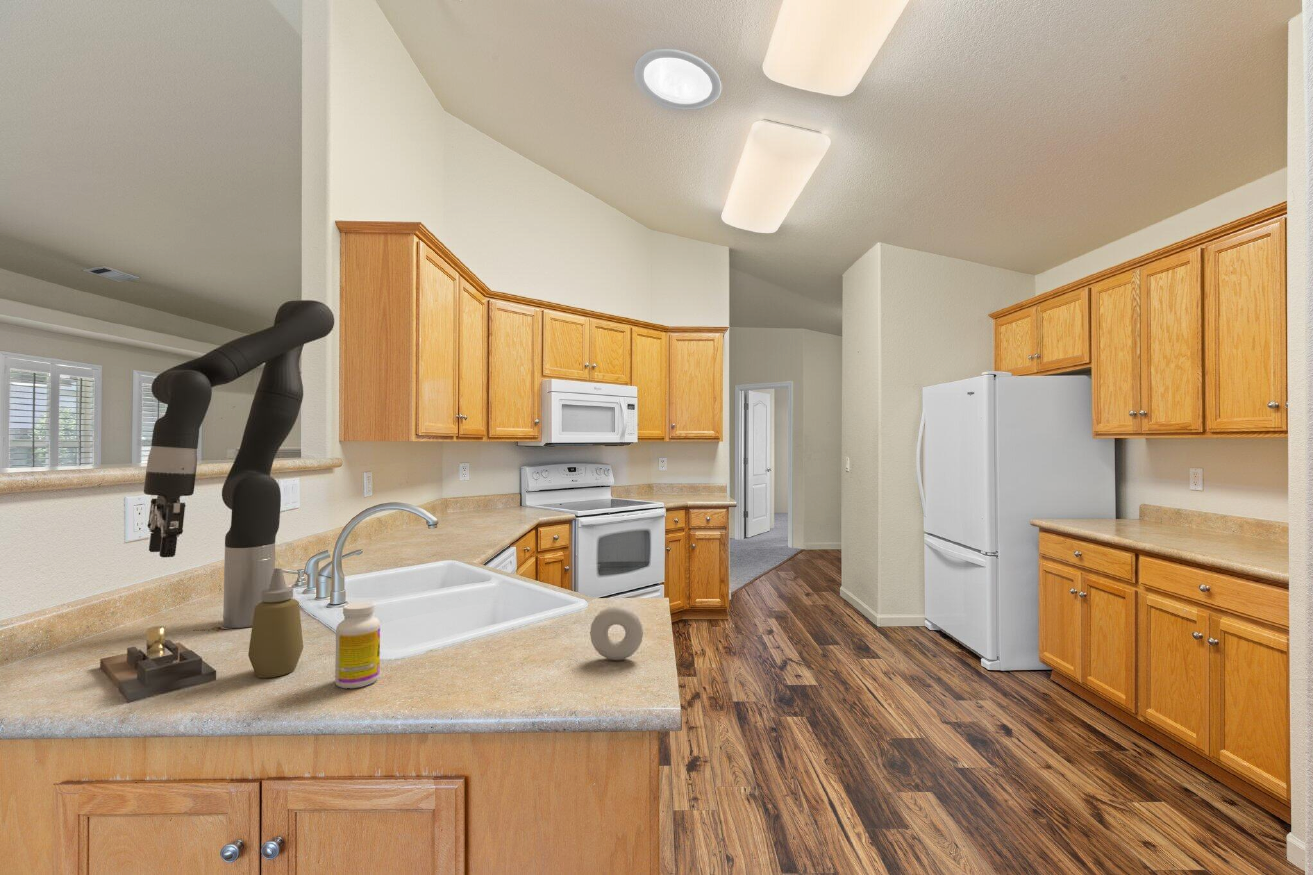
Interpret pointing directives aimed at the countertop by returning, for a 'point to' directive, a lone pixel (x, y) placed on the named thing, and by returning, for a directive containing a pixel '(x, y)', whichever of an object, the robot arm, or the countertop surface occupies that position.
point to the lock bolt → (157, 647)
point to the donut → (616, 648)
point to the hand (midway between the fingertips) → (161, 554)
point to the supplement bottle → (357, 646)
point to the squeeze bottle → (276, 630)
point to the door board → (156, 672)
